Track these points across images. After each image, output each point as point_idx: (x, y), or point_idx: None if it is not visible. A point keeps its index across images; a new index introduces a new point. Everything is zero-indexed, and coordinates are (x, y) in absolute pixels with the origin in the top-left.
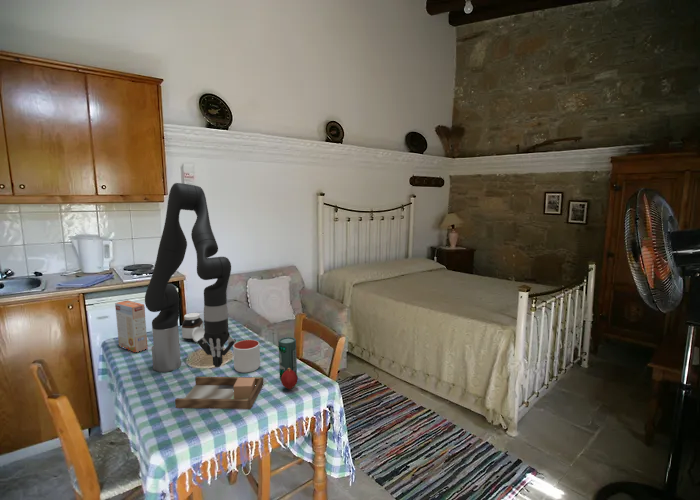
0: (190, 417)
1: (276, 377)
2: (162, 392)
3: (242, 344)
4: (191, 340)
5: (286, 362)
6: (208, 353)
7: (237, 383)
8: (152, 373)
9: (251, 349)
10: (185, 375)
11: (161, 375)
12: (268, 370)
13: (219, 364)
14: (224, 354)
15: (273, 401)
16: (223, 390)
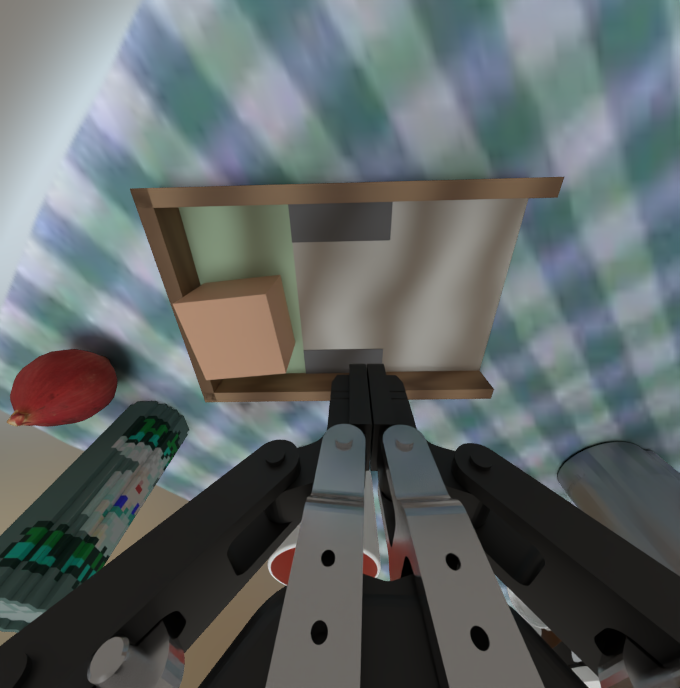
0: (434, 86)
1: (202, 426)
2: (608, 317)
3: None
4: None
5: (82, 469)
6: (475, 457)
7: (260, 324)
8: (653, 434)
9: (284, 542)
10: (530, 427)
11: (619, 424)
12: None
13: (345, 379)
14: (267, 450)
15: (106, 269)
16: (354, 337)
